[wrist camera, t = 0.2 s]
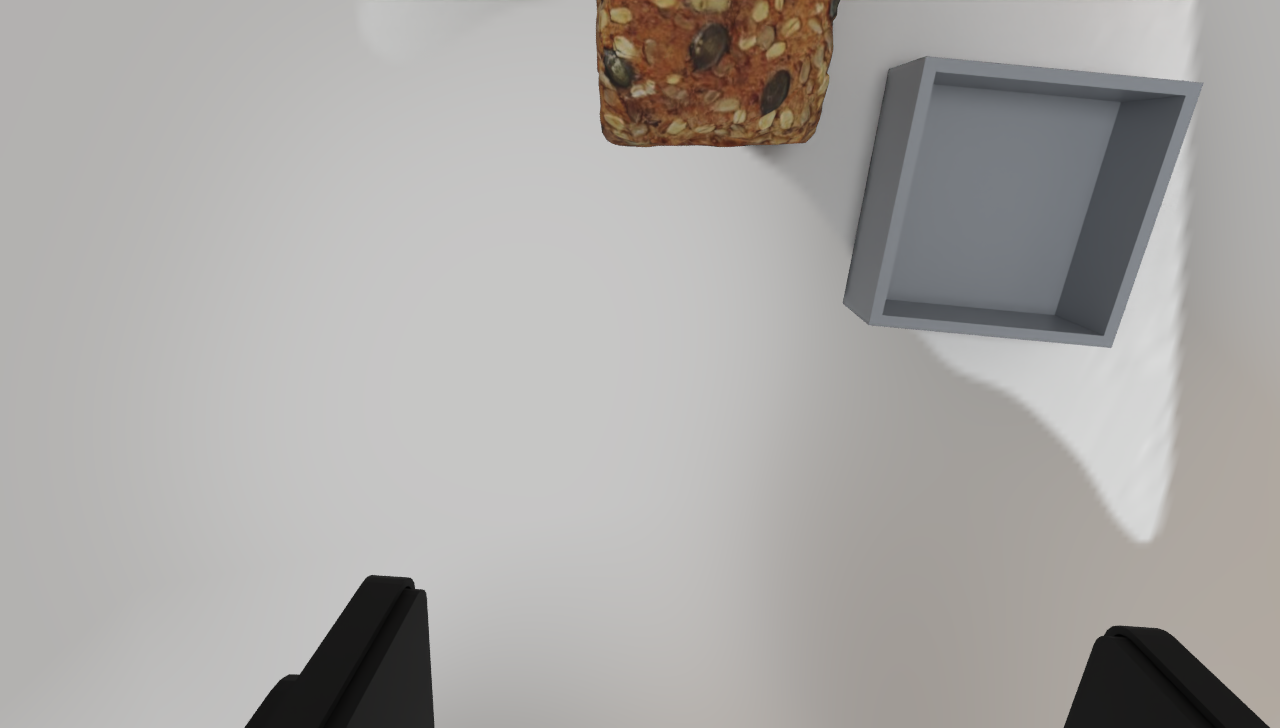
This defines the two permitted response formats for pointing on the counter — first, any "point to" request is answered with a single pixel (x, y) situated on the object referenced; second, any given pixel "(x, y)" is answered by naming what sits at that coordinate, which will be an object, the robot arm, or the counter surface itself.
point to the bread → (712, 70)
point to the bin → (1013, 198)
